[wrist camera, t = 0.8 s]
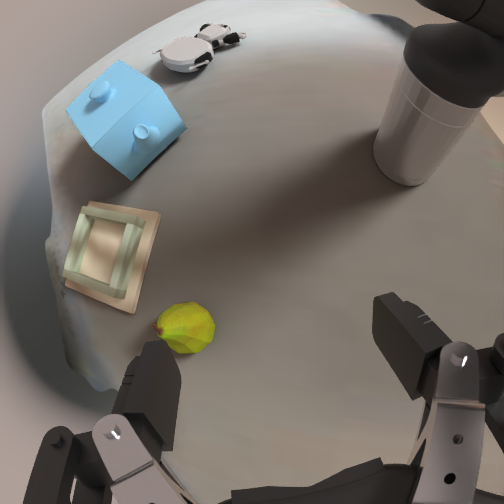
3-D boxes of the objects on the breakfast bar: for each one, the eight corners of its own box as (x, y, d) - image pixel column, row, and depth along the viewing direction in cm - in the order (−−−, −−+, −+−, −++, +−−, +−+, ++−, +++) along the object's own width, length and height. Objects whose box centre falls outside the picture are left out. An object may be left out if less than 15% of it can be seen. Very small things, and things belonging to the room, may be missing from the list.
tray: (92, 202, 41) (79, 195, 38) (161, 214, 38) (149, 206, 35) (68, 286, 39) (54, 283, 36) (135, 313, 36) (120, 313, 33)
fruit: (169, 344, 35) (115, 354, 23) (177, 297, 36) (124, 289, 24) (216, 356, 33) (176, 375, 22) (225, 307, 34) (187, 303, 23)
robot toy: (211, 31, 48) (155, 68, 46) (207, 15, 43) (148, 52, 42) (253, 45, 44) (193, 86, 43) (250, 28, 40) (185, 68, 38)
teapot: (99, 138, 44) (53, 97, 31) (143, 96, 45) (106, 47, 31) (158, 211, 39) (100, 168, 25) (216, 155, 39) (180, 92, 26)
